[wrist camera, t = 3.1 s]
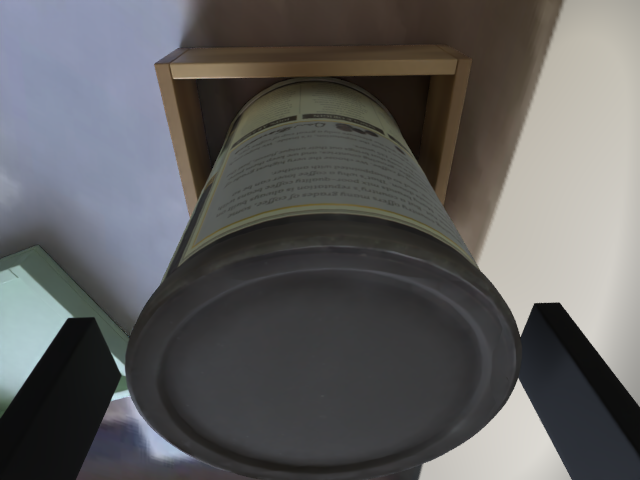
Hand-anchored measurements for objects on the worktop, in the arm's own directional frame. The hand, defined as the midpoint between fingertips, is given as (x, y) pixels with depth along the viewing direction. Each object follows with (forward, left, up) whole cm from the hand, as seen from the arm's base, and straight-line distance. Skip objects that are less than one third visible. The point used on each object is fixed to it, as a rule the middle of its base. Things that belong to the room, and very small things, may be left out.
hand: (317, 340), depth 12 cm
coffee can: (0, 0, -12) cm, 12 cm away
